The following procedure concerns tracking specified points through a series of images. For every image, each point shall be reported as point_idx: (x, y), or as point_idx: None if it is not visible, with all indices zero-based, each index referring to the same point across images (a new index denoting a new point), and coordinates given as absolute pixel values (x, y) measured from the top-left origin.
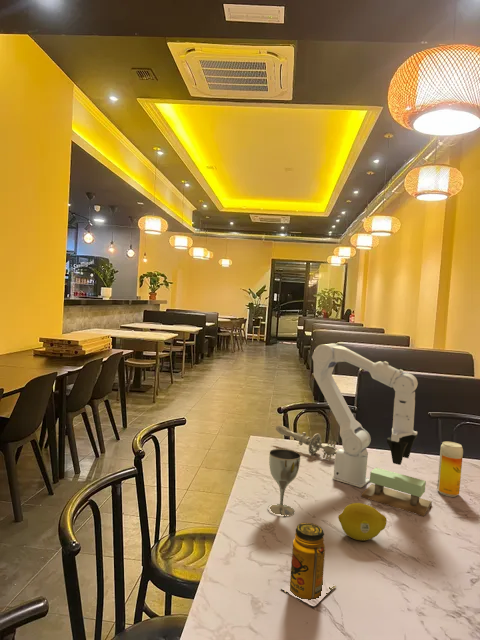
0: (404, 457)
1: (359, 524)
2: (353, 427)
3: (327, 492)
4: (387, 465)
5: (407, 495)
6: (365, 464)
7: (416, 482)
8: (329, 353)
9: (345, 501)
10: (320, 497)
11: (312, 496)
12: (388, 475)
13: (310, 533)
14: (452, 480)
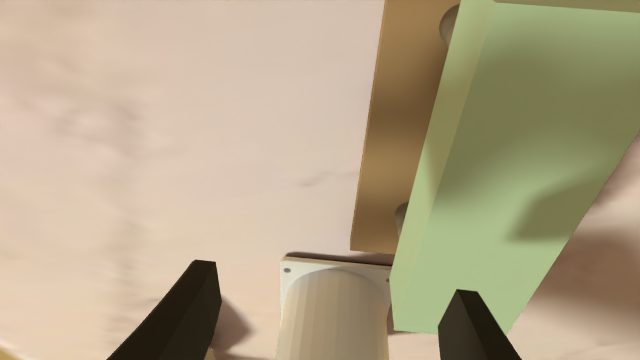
0: (218, 283)
1: None
2: None
3: (510, 332)
4: (24, 229)
5: (393, 89)
6: (346, 354)
7: (594, 83)
8: None
9: (573, 283)
10: (570, 339)
11: (571, 353)
12: (513, 271)
13: None
14: None
